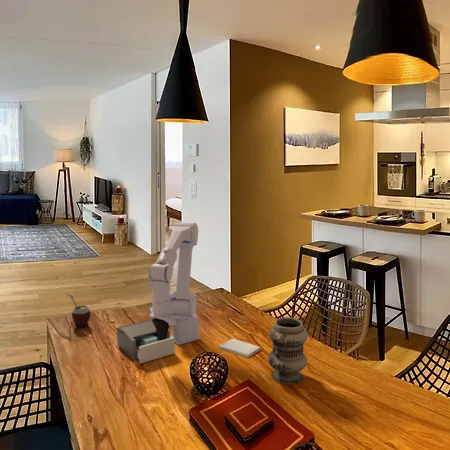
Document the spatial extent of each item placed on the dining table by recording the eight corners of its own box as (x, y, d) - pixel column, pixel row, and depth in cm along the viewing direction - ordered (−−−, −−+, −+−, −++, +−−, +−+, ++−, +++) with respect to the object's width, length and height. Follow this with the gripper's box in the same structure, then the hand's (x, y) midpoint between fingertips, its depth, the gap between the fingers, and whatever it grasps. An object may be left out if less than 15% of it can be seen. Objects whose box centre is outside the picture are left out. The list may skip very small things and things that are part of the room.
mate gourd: (94, 325, 181) (92, 290, 178) (79, 332, 174) (76, 295, 172) (82, 321, 185) (80, 287, 182) (66, 328, 178) (64, 292, 176)
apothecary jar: (282, 390, 131) (283, 332, 128) (260, 372, 141) (261, 318, 138) (314, 380, 136) (316, 324, 133) (291, 364, 147) (292, 312, 144)
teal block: (151, 345, 159) (151, 333, 158) (157, 350, 156) (157, 338, 155) (140, 348, 157) (139, 336, 156) (145, 353, 153) (145, 341, 152)
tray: (152, 337, 168) (152, 323, 167) (174, 353, 155) (174, 337, 154) (120, 345, 160) (119, 331, 160) (140, 363, 147) (139, 347, 146)
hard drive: (219, 345, 159) (248, 354, 152) (232, 338, 165) (261, 346, 158) (219, 349, 159) (248, 359, 152) (232, 342, 166) (261, 350, 158)
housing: (152, 336, 170) (151, 319, 168) (170, 349, 158) (169, 331, 157) (117, 345, 161) (116, 327, 160) (133, 359, 150) (132, 340, 149)
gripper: (140, 296, 148) (141, 335, 150) (160, 308, 136) (161, 350, 138) (159, 292, 152) (160, 330, 154) (180, 304, 140) (181, 344, 143)
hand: (162, 339), depth 147 cm, fingers closed
